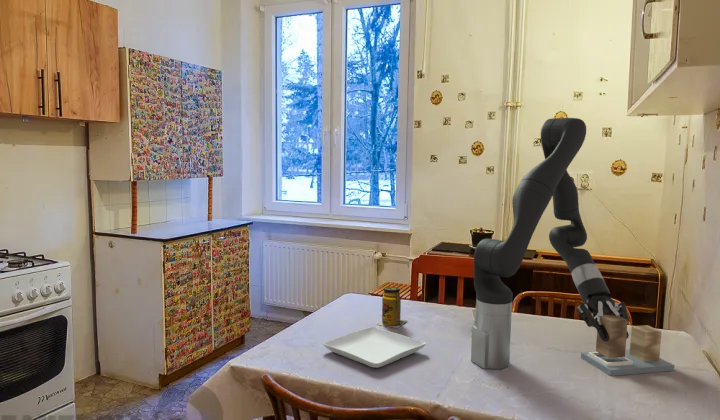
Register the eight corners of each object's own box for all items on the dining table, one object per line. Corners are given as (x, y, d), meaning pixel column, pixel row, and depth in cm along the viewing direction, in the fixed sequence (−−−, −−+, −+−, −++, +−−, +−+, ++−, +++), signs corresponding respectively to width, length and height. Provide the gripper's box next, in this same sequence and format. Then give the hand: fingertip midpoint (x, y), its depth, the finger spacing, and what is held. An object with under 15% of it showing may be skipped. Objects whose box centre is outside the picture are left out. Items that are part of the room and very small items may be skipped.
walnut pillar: (608, 358, 134) (610, 320, 133) (595, 350, 139) (598, 315, 138) (624, 356, 135) (627, 319, 134) (612, 349, 140) (614, 314, 139)
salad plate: (320, 353, 143) (320, 341, 143) (372, 335, 158) (372, 324, 158) (376, 376, 129) (376, 363, 128) (427, 354, 144) (427, 342, 143)
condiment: (377, 325, 168) (377, 289, 166) (387, 318, 175) (388, 283, 174) (397, 328, 164) (398, 292, 163) (407, 321, 172) (408, 286, 170)
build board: (610, 375, 130) (610, 367, 130) (580, 357, 142) (581, 349, 142) (674, 370, 134) (674, 362, 134) (640, 353, 146) (641, 345, 145)
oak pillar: (643, 361, 136) (645, 332, 135) (629, 354, 141) (631, 326, 140) (659, 360, 137) (661, 331, 136) (645, 353, 142) (647, 325, 141)
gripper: (573, 277, 141) (599, 334, 130) (619, 275, 144) (648, 331, 133) (561, 291, 146) (585, 347, 136) (605, 289, 149) (632, 344, 139)
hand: (616, 339), depth 134 cm, fingers closed on walnut pillar, 5 cm apart
